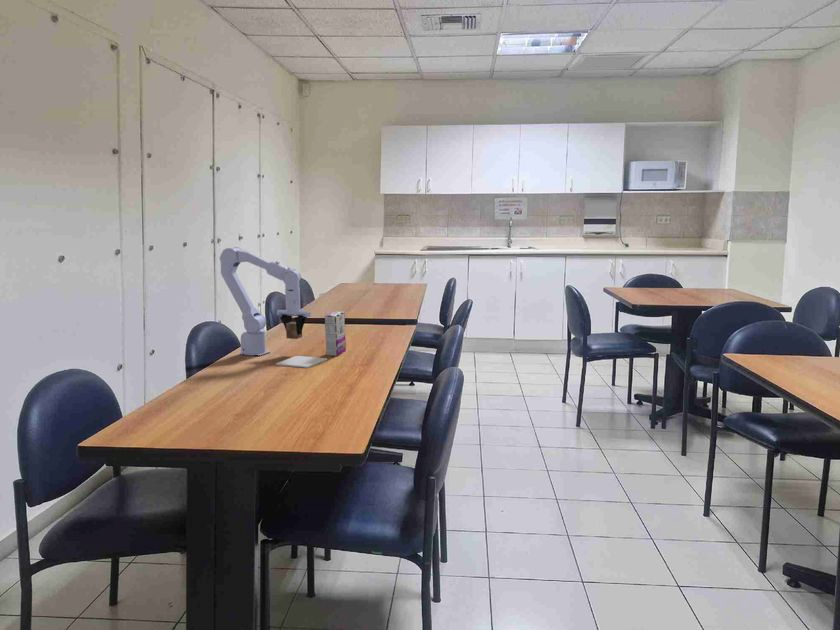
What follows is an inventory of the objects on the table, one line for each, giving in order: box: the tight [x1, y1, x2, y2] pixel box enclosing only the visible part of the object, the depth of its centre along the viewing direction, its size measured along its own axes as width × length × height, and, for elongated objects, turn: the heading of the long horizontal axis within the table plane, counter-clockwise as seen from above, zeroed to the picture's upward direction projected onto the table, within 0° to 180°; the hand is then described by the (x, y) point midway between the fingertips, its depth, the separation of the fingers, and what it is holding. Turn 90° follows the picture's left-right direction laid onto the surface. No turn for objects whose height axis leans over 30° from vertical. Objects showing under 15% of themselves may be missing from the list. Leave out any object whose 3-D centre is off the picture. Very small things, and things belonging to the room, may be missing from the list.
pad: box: [275, 355, 328, 369], centre depth 242 cm, size 14×14×1 cm
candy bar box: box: [324, 311, 347, 357], centre depth 257 cm, size 11×5×16 cm, turn 168°
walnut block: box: [285, 321, 303, 340], centre depth 256 cm, size 4×4×6 cm
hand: (294, 333), depth 256 cm, fingers closed on walnut block, 4 cm apart
